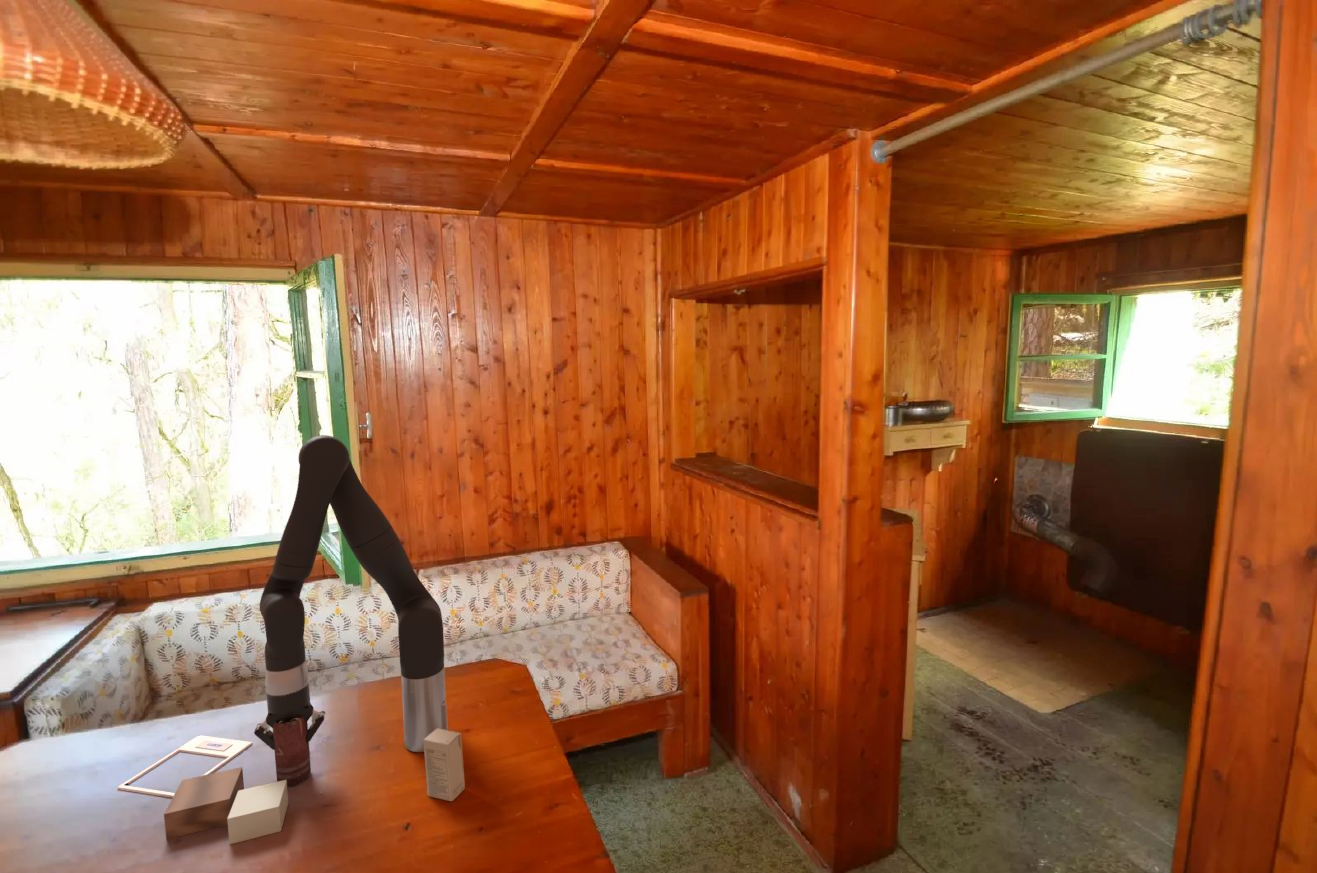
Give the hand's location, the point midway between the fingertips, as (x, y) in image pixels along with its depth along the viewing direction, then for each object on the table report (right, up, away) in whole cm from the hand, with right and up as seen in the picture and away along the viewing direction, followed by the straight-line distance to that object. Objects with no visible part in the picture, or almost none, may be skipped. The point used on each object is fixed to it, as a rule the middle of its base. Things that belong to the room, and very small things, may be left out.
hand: (293, 762), depth 127 cm
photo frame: (-26, -4, +5) cm, 26 cm away
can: (0, -4, 0) cm, 4 cm away
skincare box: (+33, -4, -4) cm, 34 cm away
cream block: (+1, -5, -12) cm, 13 cm away
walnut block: (-11, -5, -10) cm, 15 cm away
